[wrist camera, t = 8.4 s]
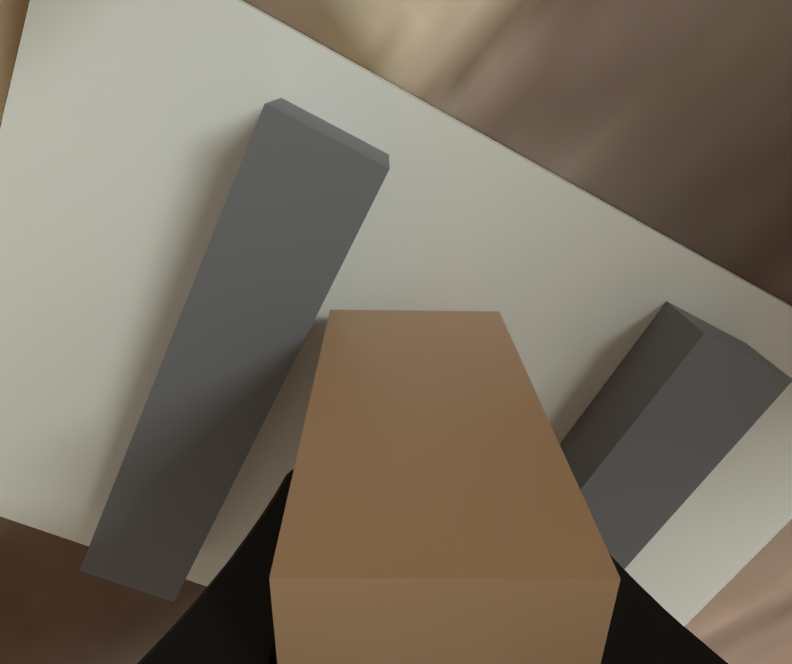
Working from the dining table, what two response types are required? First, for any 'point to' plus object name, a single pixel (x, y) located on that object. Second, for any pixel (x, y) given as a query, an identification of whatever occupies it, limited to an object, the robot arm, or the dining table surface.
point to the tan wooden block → (434, 507)
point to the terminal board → (335, 299)
